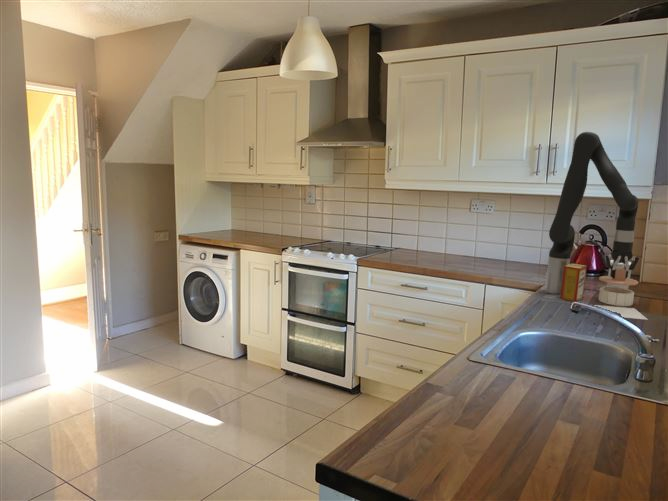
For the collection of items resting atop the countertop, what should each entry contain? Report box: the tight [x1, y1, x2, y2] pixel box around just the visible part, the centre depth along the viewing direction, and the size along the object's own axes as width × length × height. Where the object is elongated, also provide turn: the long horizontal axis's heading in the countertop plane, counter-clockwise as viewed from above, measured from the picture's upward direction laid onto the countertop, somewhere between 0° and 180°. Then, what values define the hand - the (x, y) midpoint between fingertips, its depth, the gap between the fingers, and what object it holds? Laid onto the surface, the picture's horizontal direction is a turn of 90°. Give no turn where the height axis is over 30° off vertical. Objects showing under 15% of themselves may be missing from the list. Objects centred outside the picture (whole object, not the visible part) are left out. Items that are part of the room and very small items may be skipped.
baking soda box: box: [560, 263, 588, 302], centre depth 226 cm, size 10×6×16 cm
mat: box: [593, 304, 649, 321], centre depth 208 cm, size 16×16×1 cm
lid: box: [598, 268, 639, 287], centre depth 221 cm, size 15×15×6 cm
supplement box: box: [606, 259, 632, 289], centre depth 242 cm, size 9×9×15 cm
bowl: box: [598, 285, 635, 307], centre depth 223 cm, size 13×13×6 cm
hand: (618, 278), depth 221 cm, fingers closed on lid, 4 cm apart
